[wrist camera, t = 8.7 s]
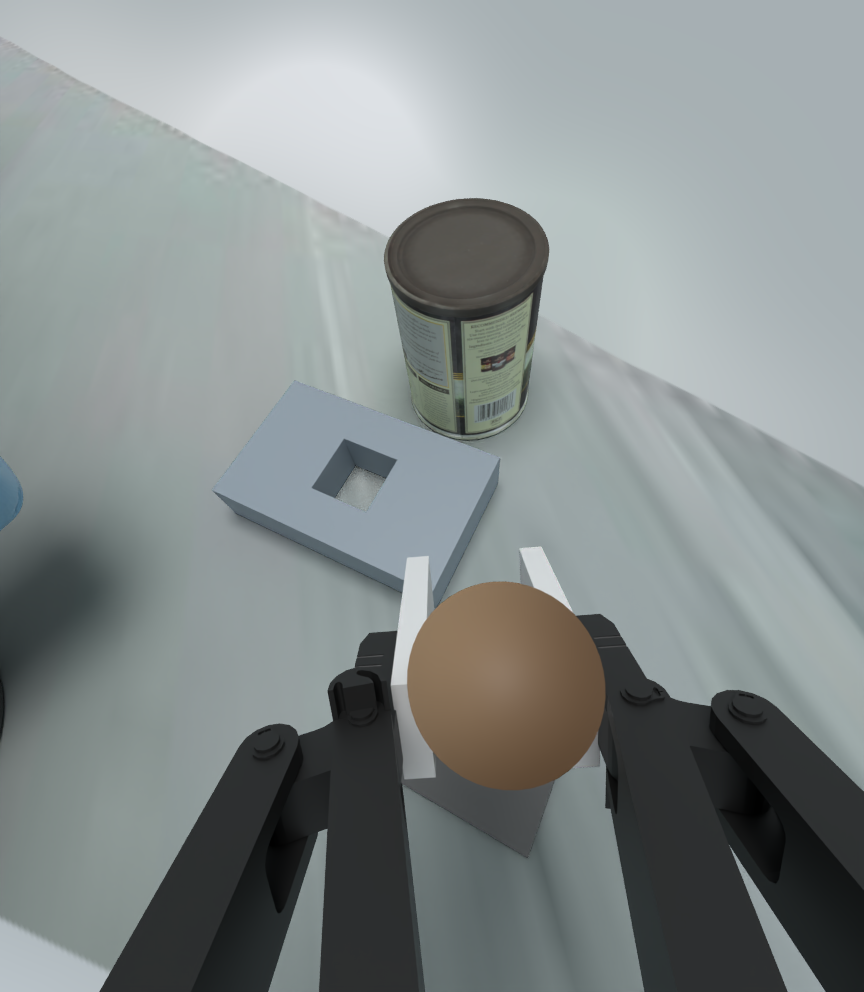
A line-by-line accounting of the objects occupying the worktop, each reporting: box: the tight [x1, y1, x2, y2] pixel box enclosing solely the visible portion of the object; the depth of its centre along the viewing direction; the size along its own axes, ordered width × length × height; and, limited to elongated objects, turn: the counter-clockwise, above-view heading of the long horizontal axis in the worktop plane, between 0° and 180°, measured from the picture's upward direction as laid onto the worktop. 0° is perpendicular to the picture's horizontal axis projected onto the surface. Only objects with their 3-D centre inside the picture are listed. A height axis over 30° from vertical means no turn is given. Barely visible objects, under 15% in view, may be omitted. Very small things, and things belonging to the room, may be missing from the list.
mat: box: [401, 756, 555, 858], centre depth 31 cm, size 10×10×1 cm
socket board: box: [212, 380, 500, 609], centre depth 38 cm, size 18×11×4 cm, turn 64°
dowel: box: [407, 582, 605, 790], centre depth 13 cm, size 3×3×12 cm
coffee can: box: [384, 198, 549, 440], centre depth 37 cm, size 10×10×14 cm
